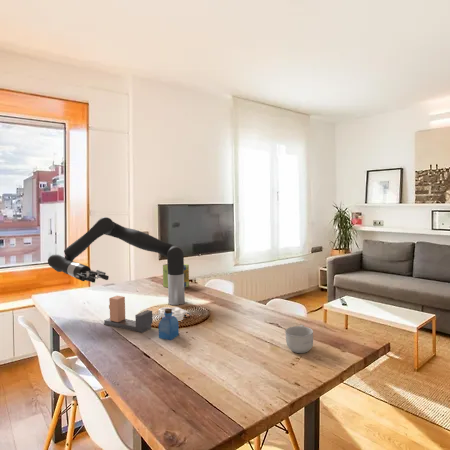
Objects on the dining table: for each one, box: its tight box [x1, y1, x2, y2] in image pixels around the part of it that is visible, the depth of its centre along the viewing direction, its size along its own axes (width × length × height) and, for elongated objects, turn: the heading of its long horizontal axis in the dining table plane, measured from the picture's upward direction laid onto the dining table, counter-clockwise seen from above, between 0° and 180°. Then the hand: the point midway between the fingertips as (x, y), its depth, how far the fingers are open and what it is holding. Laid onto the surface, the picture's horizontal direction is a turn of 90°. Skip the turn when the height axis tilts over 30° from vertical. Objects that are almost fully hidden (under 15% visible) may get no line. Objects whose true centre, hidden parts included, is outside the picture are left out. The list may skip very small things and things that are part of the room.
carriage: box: [108, 295, 126, 322], centre depth 167 cm, size 6×5×11 cm
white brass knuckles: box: [157, 306, 192, 322], centre depth 177 cm, size 3×18×15 cm
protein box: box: [162, 263, 190, 289], centre depth 240 cm, size 10×15×16 cm
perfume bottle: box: [158, 309, 180, 341], centre depth 151 cm, size 6×6×12 cm
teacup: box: [284, 324, 314, 354], centre depth 137 cm, size 14×11×8 cm
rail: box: [103, 309, 153, 333], centre depth 164 cm, size 24×8×8 cm, turn 62°
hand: (101, 279), depth 171 cm, fingers open, 8 cm apart
